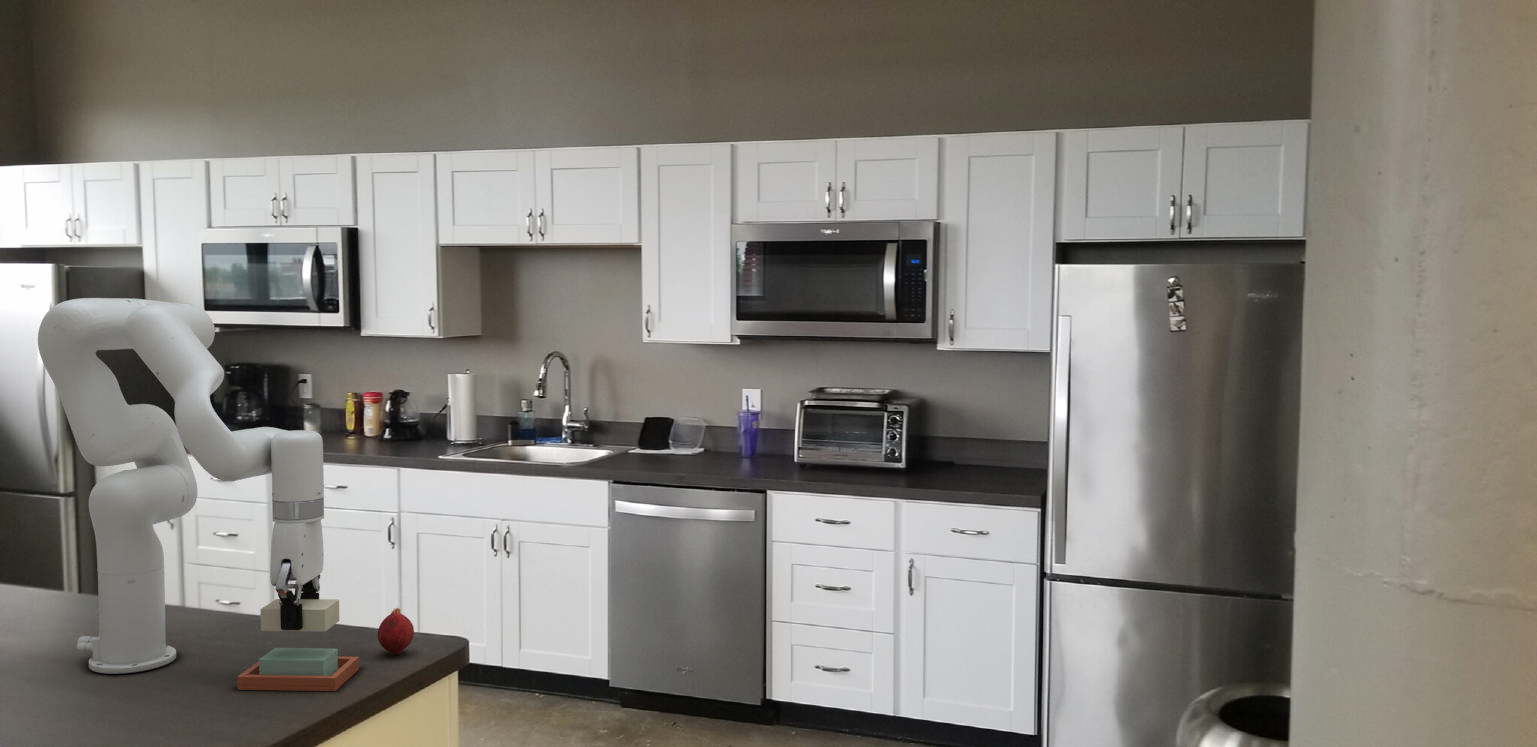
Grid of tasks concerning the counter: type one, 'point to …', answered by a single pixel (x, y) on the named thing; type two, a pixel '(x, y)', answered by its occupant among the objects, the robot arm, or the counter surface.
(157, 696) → the counter surface
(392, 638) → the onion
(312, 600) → the pad top
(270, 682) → the holder
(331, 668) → the pad base
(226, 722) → the counter surface
